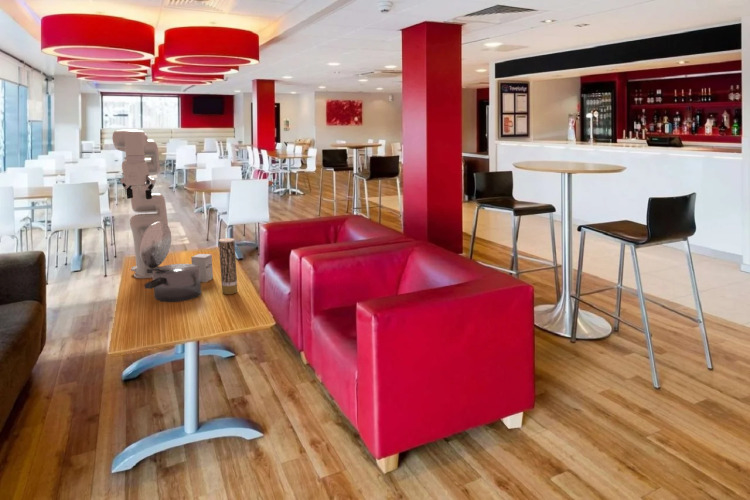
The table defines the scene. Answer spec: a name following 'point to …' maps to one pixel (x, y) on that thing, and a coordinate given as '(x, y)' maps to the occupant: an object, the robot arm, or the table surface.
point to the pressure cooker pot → (175, 282)
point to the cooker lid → (155, 244)
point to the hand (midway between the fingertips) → (139, 198)
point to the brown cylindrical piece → (228, 265)
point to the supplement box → (204, 266)
